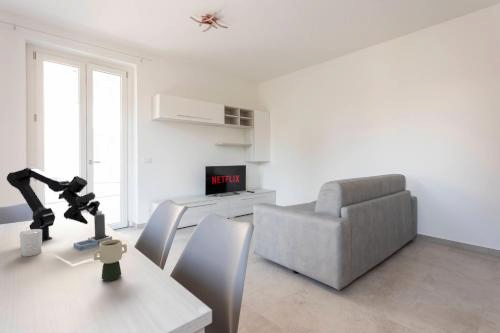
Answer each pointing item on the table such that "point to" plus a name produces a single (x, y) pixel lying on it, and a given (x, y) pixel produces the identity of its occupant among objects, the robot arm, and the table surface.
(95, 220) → the gray bottle
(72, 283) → the table surface
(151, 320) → the table surface
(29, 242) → the white cup
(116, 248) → the beige and green cup
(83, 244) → the divided tray
